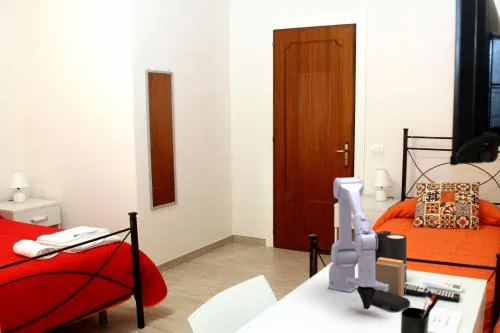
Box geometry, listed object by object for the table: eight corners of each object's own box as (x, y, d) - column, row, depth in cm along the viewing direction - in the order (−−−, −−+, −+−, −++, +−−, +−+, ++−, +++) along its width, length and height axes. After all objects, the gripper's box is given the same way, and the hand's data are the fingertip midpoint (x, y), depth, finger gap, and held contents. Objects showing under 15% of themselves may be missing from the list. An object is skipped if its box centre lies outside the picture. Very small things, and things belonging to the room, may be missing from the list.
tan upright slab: (398, 299, 184) (398, 264, 183) (374, 294, 190) (374, 260, 189) (406, 293, 191) (406, 258, 189) (383, 288, 196) (383, 255, 195)
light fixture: (395, 285, 200) (394, 240, 198) (369, 276, 211) (369, 233, 210) (412, 280, 205) (412, 236, 203) (386, 272, 216) (386, 230, 215)
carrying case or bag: (359, 303, 183) (394, 315, 172) (358, 295, 183) (394, 306, 171) (377, 296, 190) (412, 306, 178) (377, 288, 189) (412, 298, 178)
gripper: (341, 268, 174) (342, 307, 175) (382, 275, 165) (382, 316, 166) (350, 263, 179) (351, 301, 180) (391, 269, 170) (391, 309, 172)
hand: (367, 308), depth 174 cm, fingers closed
